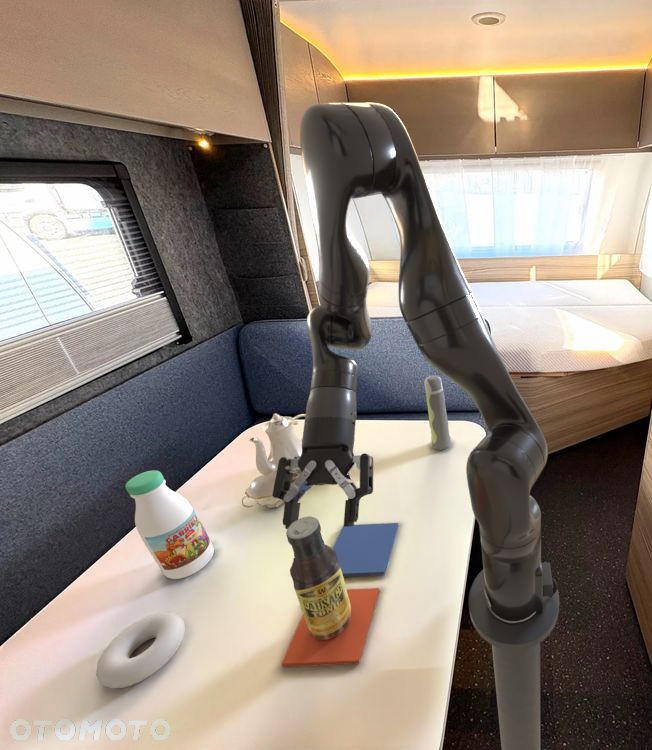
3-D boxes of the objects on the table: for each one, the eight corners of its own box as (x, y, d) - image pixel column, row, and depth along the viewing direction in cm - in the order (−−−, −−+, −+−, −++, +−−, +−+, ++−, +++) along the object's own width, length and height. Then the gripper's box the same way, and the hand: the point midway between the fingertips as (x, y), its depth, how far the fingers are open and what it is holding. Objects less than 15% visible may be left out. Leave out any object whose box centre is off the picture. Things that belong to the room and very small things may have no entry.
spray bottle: (445, 437, 104) (437, 371, 95) (454, 446, 101) (446, 377, 92) (429, 444, 102) (418, 376, 93) (437, 453, 98) (427, 383, 89)
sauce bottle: (314, 652, 56) (273, 557, 47) (307, 616, 61) (268, 525, 52) (360, 625, 59) (329, 532, 50) (349, 594, 64) (319, 504, 55)
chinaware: (272, 531, 80) (251, 470, 72) (221, 501, 86) (196, 442, 78) (368, 453, 102) (360, 400, 94) (322, 434, 108) (311, 383, 100)
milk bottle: (154, 582, 68) (97, 496, 60) (184, 546, 75) (138, 464, 67) (197, 579, 68) (147, 493, 60) (224, 543, 75) (182, 462, 67)
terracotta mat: (379, 591, 65) (379, 588, 64) (359, 663, 55) (358, 660, 55) (314, 593, 65) (313, 590, 64) (282, 666, 55) (281, 663, 55)
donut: (93, 710, 51) (183, 666, 56) (78, 697, 50) (173, 652, 54) (115, 642, 59) (193, 608, 63) (103, 629, 58) (184, 595, 62)
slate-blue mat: (398, 525, 77) (397, 522, 77) (384, 574, 67) (383, 571, 67) (344, 528, 77) (343, 525, 77) (322, 577, 68) (321, 574, 67)
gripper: (273, 416, 58) (256, 531, 53) (366, 412, 58) (358, 526, 53) (298, 426, 66) (285, 528, 60) (382, 422, 65) (376, 524, 60)
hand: (320, 527), depth 57 cm, fingers open, 8 cm apart
